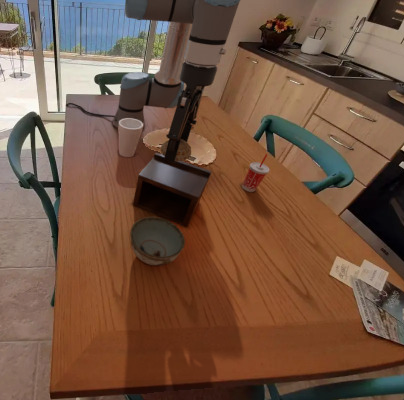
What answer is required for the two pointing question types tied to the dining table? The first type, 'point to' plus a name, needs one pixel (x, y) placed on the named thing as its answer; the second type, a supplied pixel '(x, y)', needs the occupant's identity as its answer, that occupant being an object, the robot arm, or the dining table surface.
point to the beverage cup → (255, 175)
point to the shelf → (170, 189)
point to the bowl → (156, 240)
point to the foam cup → (129, 136)
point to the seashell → (179, 150)
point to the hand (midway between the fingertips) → (175, 152)
